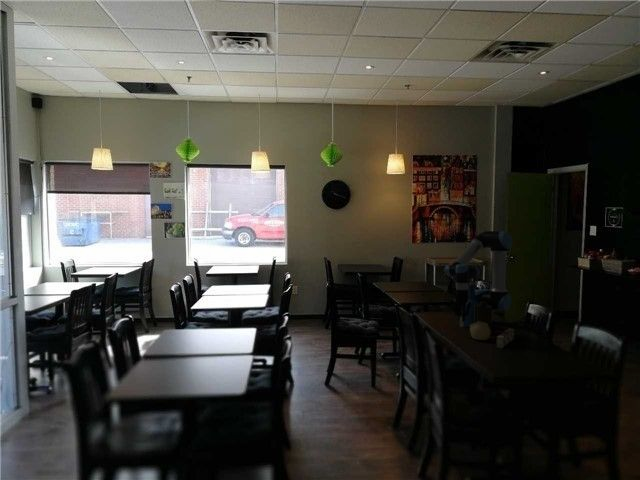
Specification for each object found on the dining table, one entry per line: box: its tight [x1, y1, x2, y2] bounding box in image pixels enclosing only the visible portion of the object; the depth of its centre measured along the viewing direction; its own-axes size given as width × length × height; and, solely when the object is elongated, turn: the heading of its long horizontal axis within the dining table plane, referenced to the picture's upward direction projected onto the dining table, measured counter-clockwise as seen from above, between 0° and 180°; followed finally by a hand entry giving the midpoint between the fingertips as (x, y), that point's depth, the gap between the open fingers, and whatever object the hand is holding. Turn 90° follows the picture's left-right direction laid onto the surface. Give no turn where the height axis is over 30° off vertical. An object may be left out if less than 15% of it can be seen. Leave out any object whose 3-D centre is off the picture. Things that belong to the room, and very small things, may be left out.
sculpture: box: [469, 321, 491, 341], centre depth 282 cm, size 11×12×11 cm
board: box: [496, 328, 515, 349], centre depth 273 cm, size 24×3×6 cm, turn 142°
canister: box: [474, 301, 492, 335], centre depth 297 cm, size 11×10×20 cm
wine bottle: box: [463, 281, 480, 329], centre depth 315 cm, size 14×13×30 cm
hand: (461, 326), depth 288 cm, fingers closed
